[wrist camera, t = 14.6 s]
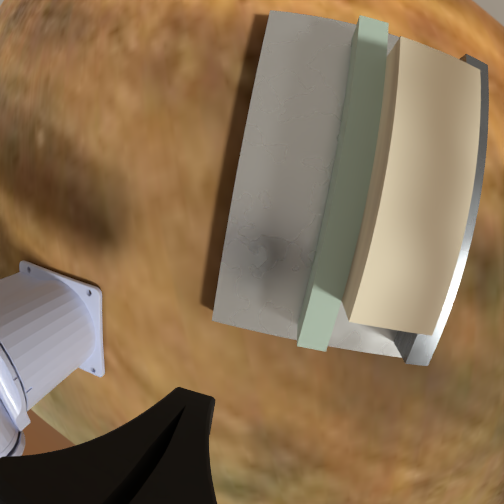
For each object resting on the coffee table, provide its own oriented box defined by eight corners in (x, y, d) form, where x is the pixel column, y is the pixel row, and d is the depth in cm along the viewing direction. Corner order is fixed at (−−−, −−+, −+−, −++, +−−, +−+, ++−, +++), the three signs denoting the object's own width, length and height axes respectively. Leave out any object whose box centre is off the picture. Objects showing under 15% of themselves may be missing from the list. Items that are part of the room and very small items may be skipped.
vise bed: (216, 314, 19) (198, 340, 15) (271, 18, 15) (265, -14, 11) (410, 351, 18) (427, 381, 14) (466, 72, 13) (493, 54, 10)
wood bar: (335, 284, 16) (348, 322, 12) (374, 74, 14) (400, 36, 9) (399, 297, 16) (432, 335, 11) (438, 96, 13) (480, 69, 9)
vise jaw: (297, 325, 17) (296, 346, 15) (352, 36, 13) (359, 15, 11) (322, 330, 17) (325, 351, 15) (378, 42, 13) (388, 23, 11)
